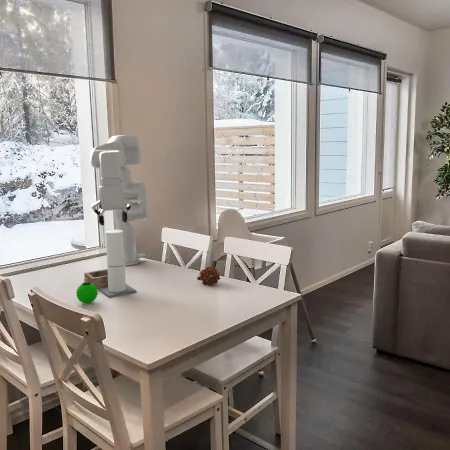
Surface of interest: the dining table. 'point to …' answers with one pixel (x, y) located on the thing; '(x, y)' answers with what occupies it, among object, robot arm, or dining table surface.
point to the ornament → (86, 292)
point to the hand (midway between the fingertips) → (113, 223)
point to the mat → (113, 294)
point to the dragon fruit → (209, 276)
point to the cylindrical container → (115, 260)
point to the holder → (98, 278)
